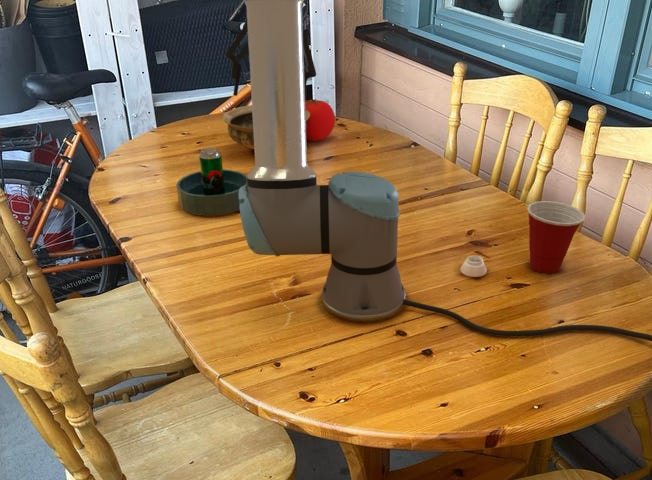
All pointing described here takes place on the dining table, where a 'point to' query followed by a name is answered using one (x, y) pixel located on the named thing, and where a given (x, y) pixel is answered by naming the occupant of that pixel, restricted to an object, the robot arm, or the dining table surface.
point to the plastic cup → (551, 233)
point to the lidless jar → (473, 267)
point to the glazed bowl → (210, 204)
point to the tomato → (319, 120)
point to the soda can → (212, 171)
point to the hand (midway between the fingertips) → (265, 102)
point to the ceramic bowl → (243, 125)
